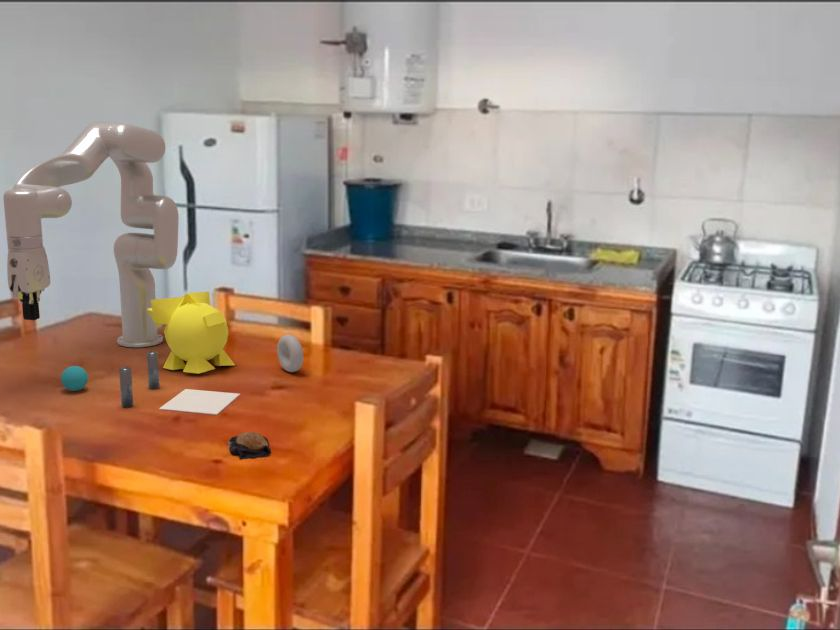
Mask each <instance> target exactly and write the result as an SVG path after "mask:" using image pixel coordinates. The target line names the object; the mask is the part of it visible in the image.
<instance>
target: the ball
mask: <svg viewBox="0 0 840 630" xmlns="http://www.w3.org/2000/svg"><path fill="white" fill-rule="evenodd" d="M60 377H61V378H60V381H61V384H62V386H63V387H64V388H65V389H66V390H67V391H70V392H71V391H72V392H77V391H80V390H83V389H84V388H85V387H86V385H88V380H89V376H88V372H87V371H86V370H85V369H84V368H83V367H81V366H78V365H72V366H71V365H70V366H68V367H67V368H65V369H64V370H63V371H62V373H61V376H60Z"/></svg>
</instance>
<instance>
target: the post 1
mask: <svg viewBox="0 0 840 630" xmlns="http://www.w3.org/2000/svg"><path fill="white" fill-rule="evenodd" d="M118 370H119V386H120V402H121V403H120V405H121V406H120V407H122V408H125V409H127V408H132V407H133V406H134V393H133V392H134V391H133V373H132V366H122V367H119V369H118Z"/></svg>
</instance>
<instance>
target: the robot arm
mask: <svg viewBox="0 0 840 630" xmlns="http://www.w3.org/2000/svg"><path fill="white" fill-rule="evenodd" d="M165 154H166V143H165V139H164V138H163V136H162V134H160V133H159V132H157V130H152V129H148V128H145V127H141V126H138V125H133V124H129V123H122V122H101V121H100V122H94V123H91V124H88V126H86V127H85V128H84V129H83V130H82V131H81V132H80V133H79V135H78V136H77V137H76V138H75V139H74V140H73V142H72V143H71V144H70V145H69V146H67V148H66V149H65V150H64V151H63V152H62V153H61V154H58V155H56V156H54V157H52V158H49V159H48V160H46V161H44V162H42V163H40V164H38V165H35V166H34V167H32V168H30V169H29V170H27V172H25V173H24V174H23V175H22V177H21V178H19V180H18V181H17V182H16V183H15V184H14V186H13V187H12V188H11V189H8V190H5V191H4V193H3V199H2V200H3V209H4V219H5V220H4V221H5V230H6V242H7V264H6V268H7V270H6V271H7V285H8V289H9V291H10V292H11V293H12V299H14V300H19V302H20V303H19V304H22V305H21V306H22V319H23V320H27V321H36V320H39V319H40V317H41V316H40V315H41V314H40V307H39V306H40V305H39V302H40V300H41V294H42V292H44V291H45V290H46V288H49V286H51V275H50V274H51V273H50V267H49V261H48V257H47V252H46V249H45V246H44V241H43V239H44V238H43V231H42V229H43V228H42V227H43V225H42V219H58V218H62V217H64V216H66V215H67V214H68V213H69V212H70V210H71V208H72V204H73V203H72V202H73V201H72V196H71V195H70V193H69V192H68V191H67V190H66V189H64V188H62V187H63V186H68V185H69V186H70V185H74V184H77V183H81V182H83V181H86V180H89V179H90V178H92V176H93V175H94V174H95V173H96V172H97V171H98V169H99V168H100V166H101V165H102V164H103V163H104V162H105V161H106V160H107V159H108V158H110V160H112V162H113V163H114V164H115V166H116V168H117V169H118V172H119V175H120V176H119V177H120V219H121V222H122V223H123V224H124V225H125V227H129V228H135V229H143V230H153V234H150V233H142V232H126V233H123V234H120V235H119V236H118V237H117V238H116V240H115V241H114V244H113V255H114V259H115V262H116V266H117V271H118V278H119V294H120V311H121V313H120V314H121V327H122V328H121V330H122V335H120V336H119V337H118V338H117V340H116V342H117V344H118V345H119V346H121V347H126V348H147V347H152V346H157V345H159V344H161V343H162V342H163V341H164V336H163V335H162V334H160V333H158V330H159V329H160V328H162V326H163V325H161V326H159V327H157V326H156V324H155V323H154V321H153V319H152V318H151V316H150V314H149V312H148V311H147V309H149V308H152V305H151V300H154V299H157V298H156V296H157V295H156V282H155V278H154V275H153V273H152V271H151V269H153V270H154V269H155V270H168V269H170V268H173V266H174V264H175V263H176V261H177V256H178V248H179V247H178V245H179V241H178V240H179V218H180V217H179V210H178V207H177V203H176V202H175V201H174V199H172V197H171V198H170V197H169V196H166V195H156V194H154V177H153V173H152V170H151V168H150V167H149V165H148V164H149V163H150V164H152V163H153V164H154V163H158V162H159V161H161V159H163V157H164V155H165ZM147 163H148V164H147Z"/></svg>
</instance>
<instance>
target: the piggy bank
mask: <svg viewBox="0 0 840 630" xmlns="http://www.w3.org/2000/svg"><path fill="white" fill-rule="evenodd" d="M210 298H211V297H210V292H209V291H201V292H200V291H199V292H198V291H196V292H195V291H193V292H186V293H185V294H184V295H183V296H178V297H177V296H176V297H175V296H174V297H167V298H158V299H157V298H156V299H154V300H151V305H152V308H149V309H147V311H148V312H149V314H150V316H151V318H152V319H153V321H154V323H155V324H156V326H157V327H159V326H161V325H162V326H163V325H165V327H164V329H163V332H164V338H165V342H166V344H167V345H168V346H167V347H169V349H170V353H169V355H168V356H167V358H166V361H165V363H164V365H163V367H162V368H163V369H167V370H171V371H175V370H183V371H182V372H183V373H189V374H190V373H191V374H197V375H198V374H201V373H206V372H208V371H212V370H215V369H216V368H215V366H217V367H221V366H224V367H225V366H236V364H235V363H234V362H233V360H232V359H231V357H230V356H229V355H228V354H227V352H226V351H225V350H224V347H225V346H226V344H227V342H228V336H229V332H230V331H229V327H228V324H227V320H226V317H225V315H224V313H223V311H220V310H219V309H217V308H216V307H214V306H212V305H211V299H210ZM162 326H161V327H162ZM212 359H213V362H214V363H213V364H214V365H212V363H210V362H209V360H212ZM184 361H185V362H186V363H185V362H184Z"/></svg>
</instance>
